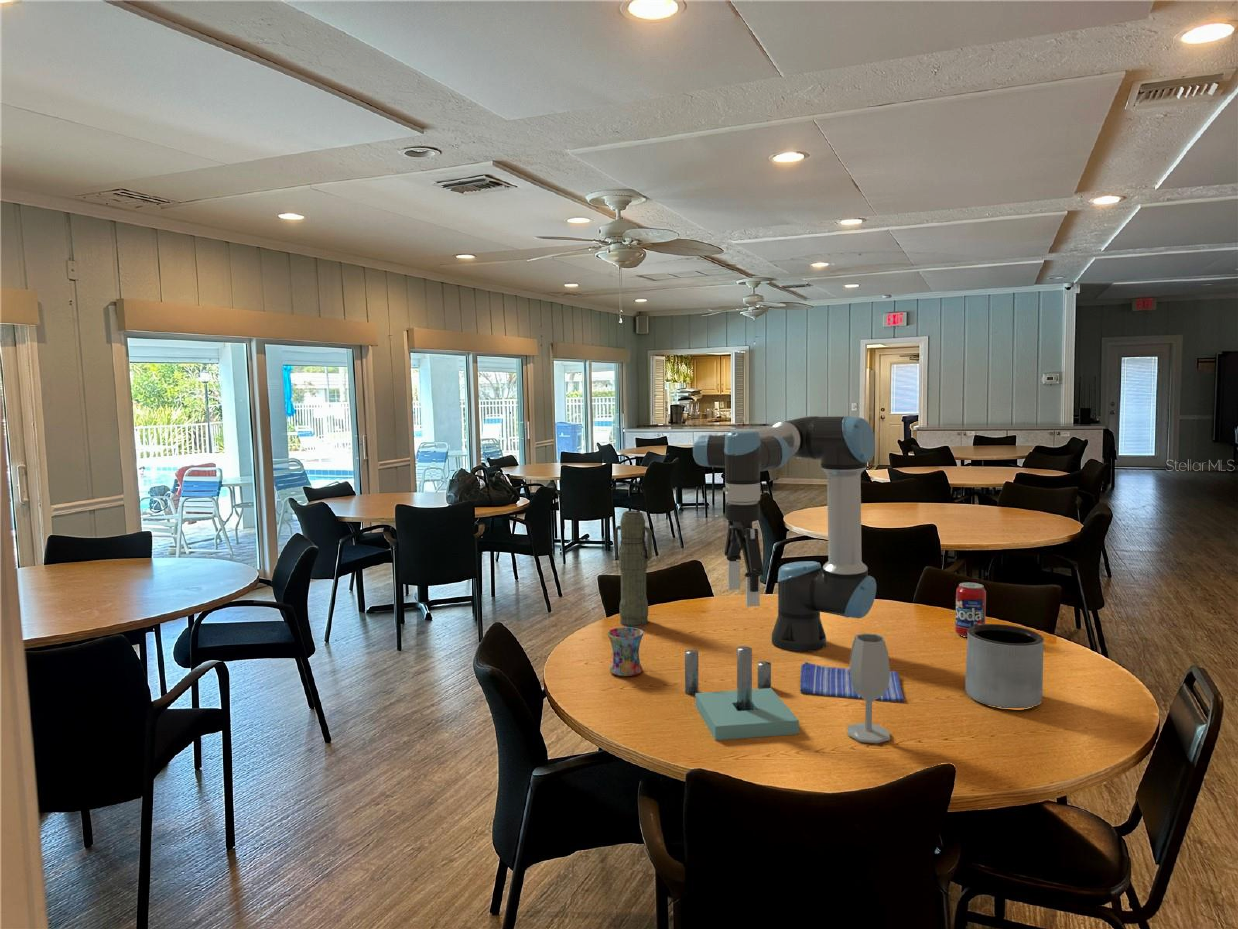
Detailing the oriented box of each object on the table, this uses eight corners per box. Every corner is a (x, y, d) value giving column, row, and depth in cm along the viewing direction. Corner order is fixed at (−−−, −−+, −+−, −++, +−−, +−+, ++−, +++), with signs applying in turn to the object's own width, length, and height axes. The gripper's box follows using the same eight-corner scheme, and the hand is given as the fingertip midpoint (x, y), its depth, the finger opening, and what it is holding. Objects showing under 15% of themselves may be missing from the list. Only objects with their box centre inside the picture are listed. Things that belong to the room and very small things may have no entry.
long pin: (749, 715, 174) (749, 645, 173) (753, 721, 171) (753, 650, 169) (735, 716, 174) (735, 646, 172) (739, 723, 171) (739, 651, 169)
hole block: (770, 700, 182) (771, 688, 182) (798, 734, 165) (798, 720, 164) (695, 705, 180) (695, 693, 180) (715, 740, 162) (715, 726, 162)
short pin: (768, 684, 192) (768, 661, 192) (772, 689, 189) (772, 665, 188) (755, 685, 192) (755, 661, 191) (759, 690, 189) (759, 666, 188)
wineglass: (840, 727, 167) (841, 632, 165) (879, 725, 168) (881, 630, 166) (856, 746, 159) (857, 645, 157) (897, 743, 160) (899, 643, 158)
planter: (1011, 718, 171) (1013, 649, 169) (949, 694, 185) (951, 629, 183) (1057, 704, 178) (1060, 637, 177) (995, 681, 192) (997, 619, 191)
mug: (636, 681, 196) (635, 639, 195) (602, 676, 199) (601, 635, 198) (652, 665, 207) (652, 626, 206) (620, 661, 210) (619, 622, 209)
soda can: (986, 633, 229) (988, 583, 227) (982, 641, 222) (984, 589, 221) (957, 629, 233) (958, 580, 231) (952, 637, 226) (954, 586, 225)
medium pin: (696, 689, 190) (696, 649, 189) (699, 694, 187) (699, 653, 186) (683, 690, 189) (683, 650, 188) (686, 695, 186) (686, 654, 185)
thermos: (650, 627, 239) (649, 514, 236) (612, 625, 242) (610, 513, 238) (655, 619, 248) (654, 509, 244) (618, 617, 250) (617, 509, 247)
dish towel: (801, 670, 203) (801, 660, 202) (898, 678, 196) (898, 667, 196) (798, 696, 186) (798, 684, 186) (904, 705, 180) (904, 693, 180)
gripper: (710, 494, 182) (711, 583, 184) (743, 512, 158) (743, 614, 160) (741, 493, 183) (742, 582, 185) (779, 510, 159) (779, 612, 161)
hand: (743, 597), depth 173 cm, fingers open, 13 cm apart
